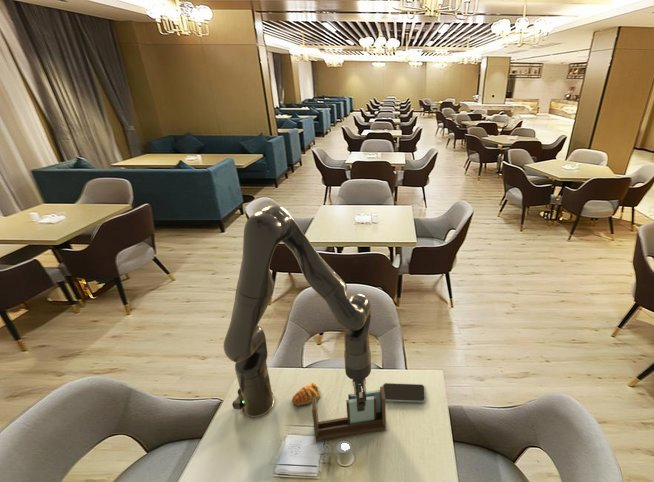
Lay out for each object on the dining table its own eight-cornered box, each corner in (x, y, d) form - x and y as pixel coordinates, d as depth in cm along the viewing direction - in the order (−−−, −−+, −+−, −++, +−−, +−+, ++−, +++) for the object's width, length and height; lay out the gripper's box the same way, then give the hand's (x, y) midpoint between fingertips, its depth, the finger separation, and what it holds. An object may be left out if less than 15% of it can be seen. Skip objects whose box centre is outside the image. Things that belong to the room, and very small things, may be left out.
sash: (347, 421, 113) (345, 387, 107) (375, 416, 115) (375, 383, 109) (348, 426, 112) (345, 392, 105) (376, 421, 113) (376, 387, 107)
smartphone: (425, 401, 122) (381, 399, 122) (424, 403, 122) (381, 401, 122) (424, 384, 129) (383, 382, 129) (424, 386, 129) (383, 384, 129)
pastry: (297, 411, 118) (296, 403, 117) (289, 398, 123) (288, 390, 122) (322, 397, 124) (321, 389, 122) (313, 385, 129) (312, 377, 127)
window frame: (315, 425, 114) (312, 395, 108) (382, 414, 118) (382, 385, 112) (315, 442, 109) (311, 411, 103) (385, 430, 113) (385, 400, 107)
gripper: (343, 344, 107) (346, 384, 114) (346, 379, 94) (349, 422, 101) (367, 340, 109) (369, 380, 115) (373, 375, 96) (374, 418, 103)
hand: (359, 400), depth 108 cm, fingers open, 6 cm apart
